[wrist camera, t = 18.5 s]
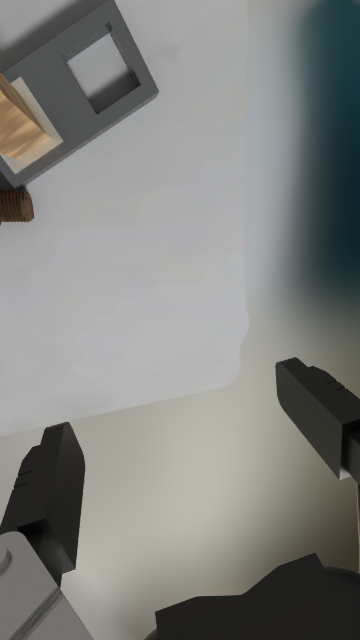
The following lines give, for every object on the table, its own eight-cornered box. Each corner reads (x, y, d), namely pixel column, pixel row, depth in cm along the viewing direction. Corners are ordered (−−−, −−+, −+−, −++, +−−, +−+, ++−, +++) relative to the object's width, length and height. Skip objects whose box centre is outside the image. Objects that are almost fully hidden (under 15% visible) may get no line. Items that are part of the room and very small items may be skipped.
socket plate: (19, 189, 33) (13, 188, 31) (-39, 113, 30) (-50, 107, 28) (156, 97, 33) (159, 90, 31) (112, 9, 29) (112, -5, 27)
